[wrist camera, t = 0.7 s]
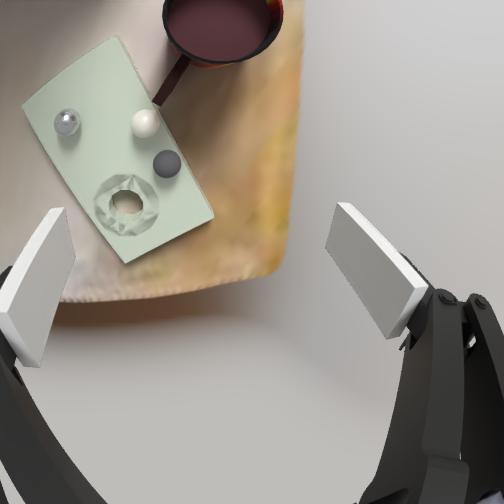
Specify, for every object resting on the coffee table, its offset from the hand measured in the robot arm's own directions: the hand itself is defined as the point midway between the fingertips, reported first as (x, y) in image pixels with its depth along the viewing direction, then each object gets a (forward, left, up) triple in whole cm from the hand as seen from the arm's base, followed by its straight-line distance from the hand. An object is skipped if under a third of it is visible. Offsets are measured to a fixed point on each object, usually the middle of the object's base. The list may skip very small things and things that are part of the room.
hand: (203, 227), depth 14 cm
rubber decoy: (+1, -4, -21) cm, 21 cm away
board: (-2, -9, -25) cm, 26 cm away
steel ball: (-9, -11, -21) cm, 25 cm away
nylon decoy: (-4, -4, -21) cm, 21 cm away
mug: (-9, +6, -25) cm, 27 cm away
